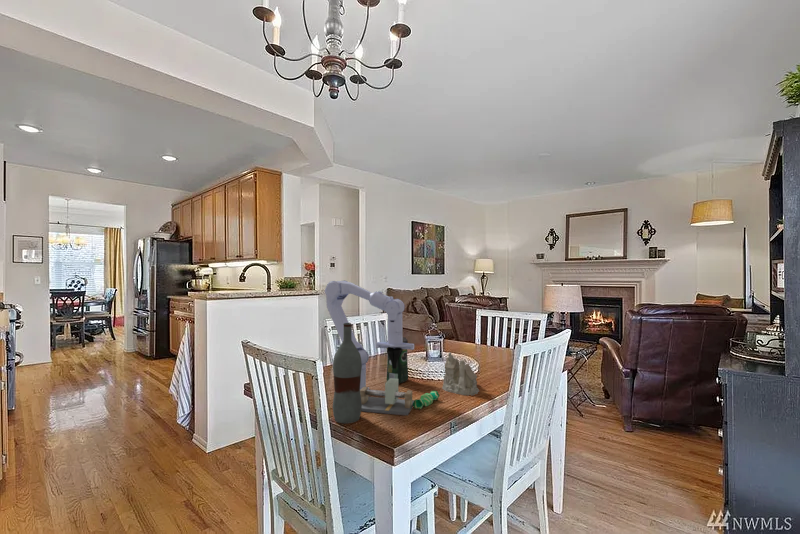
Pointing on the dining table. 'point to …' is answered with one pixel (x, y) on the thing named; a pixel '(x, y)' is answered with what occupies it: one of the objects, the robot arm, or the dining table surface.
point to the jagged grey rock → (459, 377)
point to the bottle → (347, 380)
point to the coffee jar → (398, 367)
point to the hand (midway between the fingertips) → (394, 368)
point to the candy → (426, 399)
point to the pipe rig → (379, 403)
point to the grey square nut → (391, 391)
